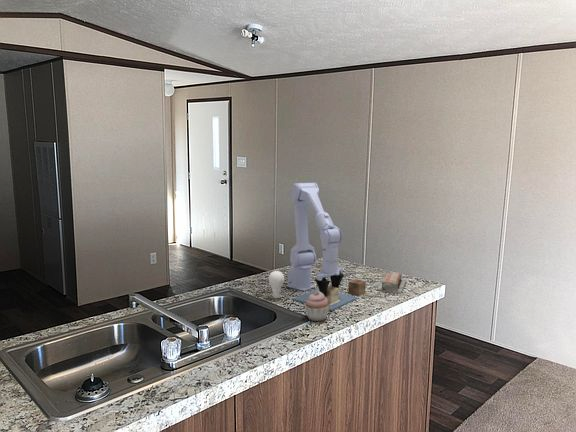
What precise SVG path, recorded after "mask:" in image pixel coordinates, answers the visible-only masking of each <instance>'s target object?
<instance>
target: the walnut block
mask: <svg viewBox="0 0 576 432" xmlns="http://www.w3.org/2000/svg"><path fill="white" fill-rule="evenodd" d="M366 286H367V281H365V280H362V279H358V278H354V279H351V280H349V281H348V290H347V294H348V295H352V296H356V297H357V296H358V297H359V296H362V295H364V294H366Z"/></svg>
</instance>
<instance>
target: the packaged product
mask: <svg viewBox="0 0 576 432" xmlns="http://www.w3.org/2000/svg"><path fill="white" fill-rule="evenodd" d="M406 282H407V279H406V278H402V273H401V272H398V271H394V272H387V273H386V274H385V275H384V277H383V278H382V280H381V282H380V283H379V285H378V288H377V292H385V293H393V294H402V292H403V290H404V288H405V286H406Z"/></svg>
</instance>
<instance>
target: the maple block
mask: <svg viewBox="0 0 576 432" xmlns="http://www.w3.org/2000/svg"><path fill="white" fill-rule="evenodd" d="M339 288H340V287H339ZM339 288H336V287H332V286H331V285H328V288H327V296H326V298H327V299H328V303H329V304H332V303H334V302H337V301H338V295H339V293H340V291H339V290H340V289H339Z"/></svg>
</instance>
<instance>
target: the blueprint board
mask: <svg viewBox="0 0 576 432" xmlns="http://www.w3.org/2000/svg"><path fill="white" fill-rule="evenodd" d="M316 291H319V287H318V288H316V289H314V290H311V291H308V292H306V293H304V294H300V295H299V296H295V297H293V300H292V301H295V302H299V303H301V304H302V303H303V304H305V303H306V301H307V299H308V297H309V296H310V295H311V294H314V293H315V292H316ZM319 292H320V291H319ZM358 297H359V296H358ZM358 297H357V296H355V295H351V294H345V293H341V292H339V295H338V301H337V302H334V303H332V304H330V306H331V307H330V308H329V310H328V312H332V311H335V310H337V309H340V308H341V307H344V306H345V305H348V304H349V303H352V302H354V301H356V300H358Z"/></svg>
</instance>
